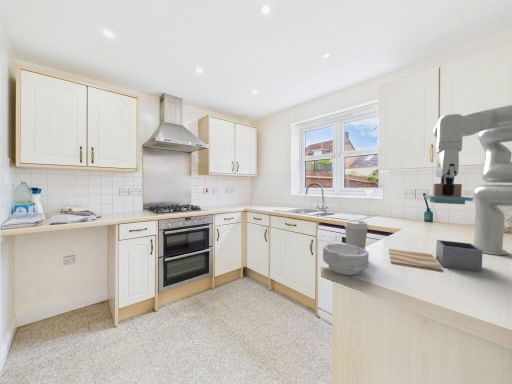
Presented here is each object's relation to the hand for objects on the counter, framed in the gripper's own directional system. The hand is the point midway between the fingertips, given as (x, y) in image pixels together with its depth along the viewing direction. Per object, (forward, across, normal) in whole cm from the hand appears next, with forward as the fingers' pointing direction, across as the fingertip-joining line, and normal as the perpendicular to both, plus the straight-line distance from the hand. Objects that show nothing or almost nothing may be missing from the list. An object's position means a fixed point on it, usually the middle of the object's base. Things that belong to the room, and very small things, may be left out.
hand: (446, 194), depth 88 cm
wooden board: (+28, 0, -10) cm, 29 cm away
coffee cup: (+28, +9, -31) cm, 43 cm away
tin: (+28, 0, +4) cm, 28 cm away
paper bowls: (+28, +27, -34) cm, 51 cm away
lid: (+3, 0, 0) cm, 3 cm away
